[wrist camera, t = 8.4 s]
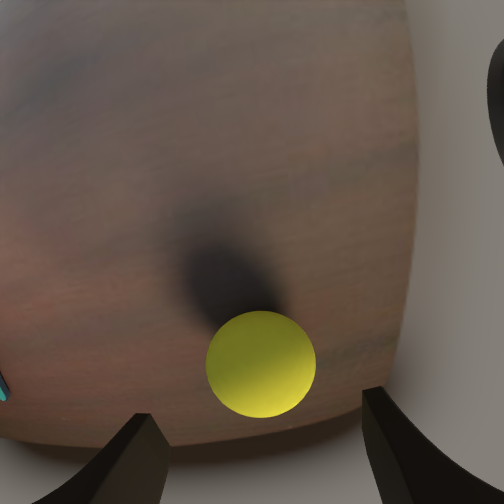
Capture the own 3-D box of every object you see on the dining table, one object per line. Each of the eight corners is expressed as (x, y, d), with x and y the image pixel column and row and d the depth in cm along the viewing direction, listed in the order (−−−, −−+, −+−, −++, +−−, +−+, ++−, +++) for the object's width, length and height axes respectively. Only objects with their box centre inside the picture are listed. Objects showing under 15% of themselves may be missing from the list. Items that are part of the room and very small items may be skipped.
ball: (302, 283, 14) (315, 345, 10) (314, 362, 15) (326, 430, 11) (203, 300, 14) (179, 362, 10) (227, 375, 16) (216, 442, 12)
